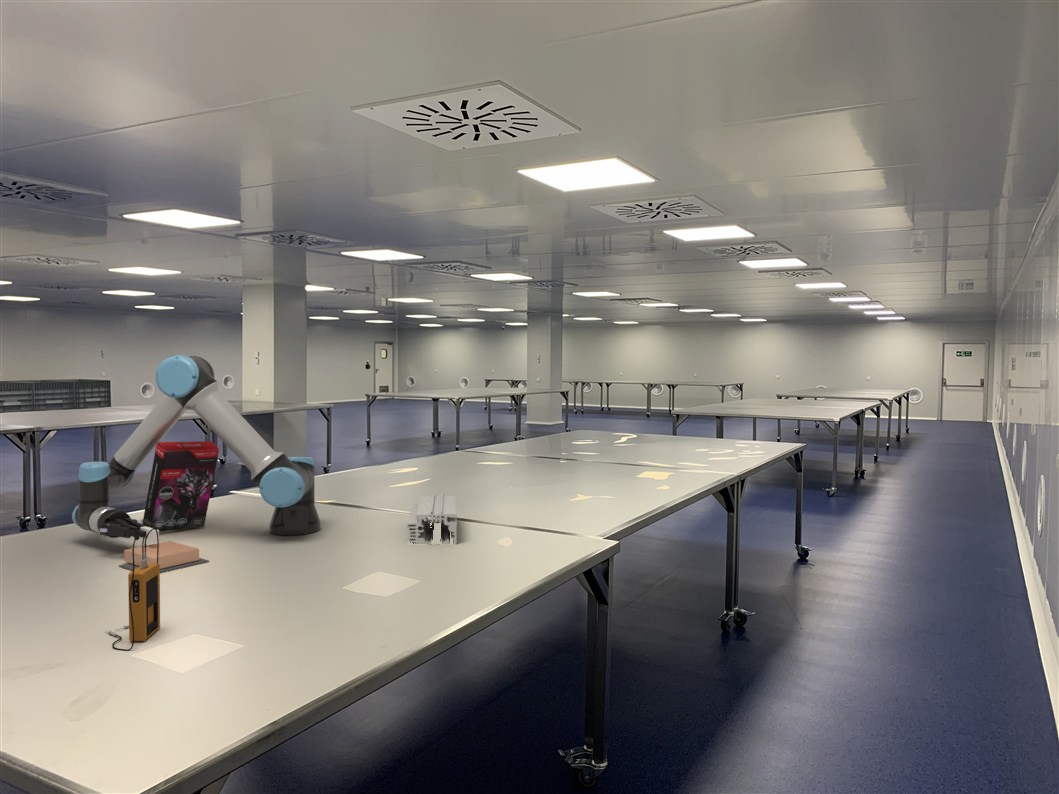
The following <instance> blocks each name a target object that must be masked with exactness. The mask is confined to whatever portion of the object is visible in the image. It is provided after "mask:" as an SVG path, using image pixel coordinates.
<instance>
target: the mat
mask: <svg viewBox="0 0 1059 794" xmlns="http://www.w3.org/2000/svg"><path fill="white" fill-rule="evenodd" d="M206 562H207V563H210V560H209V559H205V558H202V557H199V560H197V561H193V562H188V563H184V564H180V565H175V566H171V567H166V568H162V569H160V574H163V573H162V572H164V573H167V572H166V571H168V572H171V570H172V571H175V569H177V570H180V569H179V568H181V569H184V568H183V567H185V568H189V567H193V565H194V566H197V564H198V565H202V564H206ZM188 566H189V567H188ZM118 567H119V568H122V569H125V570H127V571H130V572H131V571H133V564H131V563H128V562H126V563H123V564H119V565H118ZM138 567H140V566H137V565H134V570H135V569H137V568H138Z"/></svg>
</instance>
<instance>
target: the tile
mask: <svg viewBox="0 0 1059 794" xmlns="http://www.w3.org/2000/svg"><path fill="white" fill-rule="evenodd" d="M132 549H133V547H131V548H128V549H124V553H123V554H124V562H125V563H131V564H133V556H132ZM144 552H145V545H144ZM146 553H147V554H146V556H147V563H157V543H153V544H148V545H147V544H146ZM199 558H200V548H198V547H194V546H190V545H187V544H183V543H179V542H176V541H171V540H168V541H167V540H166V541H164V542H163V541H162V542H159V554H158V563H159V564H160V569H162V568H166V567H171V566H175V565H180V564H184V563H188V562H193V561H197V560H199ZM141 560H142V546H137V547H134V565H137V566H141Z"/></svg>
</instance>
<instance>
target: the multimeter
mask: <svg viewBox="0 0 1059 794" xmlns="http://www.w3.org/2000/svg"><path fill="white" fill-rule="evenodd" d="M152 530H156V533H157V541H156V544H157V563H147V556H146V554H147V553H146V546H147V541H148V540H147V537H148V535H149V533H150V532H151V531H152ZM141 535H144V537H143V538H142V542H141V547H142V560H141V566H140V567H138V568H137V569H135V570H134V548H135V544H136V541H137V540H136V539H137V538H138V537H139V536H141ZM139 538H140V537H139ZM159 541H160V538H159V539H158V531H157V529H155V528H153V529H151V530H150V531H149V532H148V534H147V536H146V538H145V534H144V533H143V534H140V535H138V536H137V537H136V538H135V540H134V539H133V543H132V548H133V549H132V548H131V549H132V556H133V571H130V572H128V580H127V581H128V582H127V583H128V586H127V587H128V624H127V625H124V626H123V627H119V628H115V631H119V630H122V629H124V630H126V629H128V635H129V636H128V639H129V642H131V647H130V648H118V647H115V643H118V642H119V641H120V640H122V639H123V637H122V636H121V635H119V634H117V633H116V632H113V631H112V630H107V629H105V630H104V631H105V632H107V634H109V635H112V636H114V637H117V638H119V639H117V640H115V641H113V642H112V648H113V649H115V650H117V651H123V652H124V651H125V652H128V651H131V650H132V649H133V647H134V644H135V642H146V641H147V640H148V639H149V638H150V637H151V636H153V634H154V633H155V632H158V631H159V630H160V628H161V577H160V574H161V573H160V564H159V563H158V554H159V543H160V542H159ZM144 546H145V552H144Z"/></svg>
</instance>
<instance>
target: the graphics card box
mask: <svg viewBox="0 0 1059 794" xmlns="http://www.w3.org/2000/svg"><path fill="white" fill-rule="evenodd" d="M219 451H220V448H219V447H218V446H217V445H216V444H215V443H214V442H213V441H211V440H205V441H204V440H203V441H198V440H197V441H160V442H157V444H156V447H155V451H154V456H153V457H154V458H153V461H152V468H151V473H150V480H149V484H148V485H149V486H148V490H147V494H146V495H147V497H146V502H145V507H144V513H143V518H142V520H143V519H145V518H147V519H148V521H149V522H151V523H153V524H154V528H155V529H157V530H159V533H161V532H168V531H178V530H185V529H186V530H189V529H196V528H203V527H205V525H206V520H207V519H206V518H207V513H208V508H209V504H210V497H211V493H212V487H213V483H214V476H215V473H216V472H215V471H216V466H217V462H218V458H219V453H220V452H219Z"/></svg>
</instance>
